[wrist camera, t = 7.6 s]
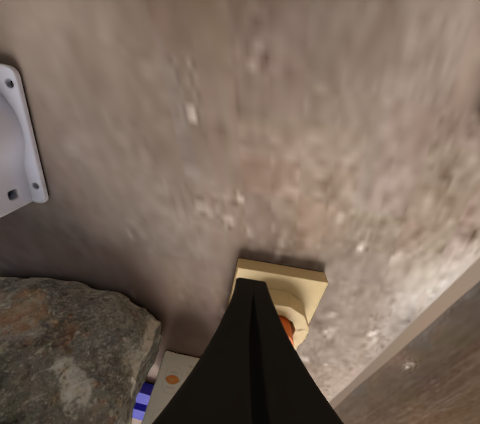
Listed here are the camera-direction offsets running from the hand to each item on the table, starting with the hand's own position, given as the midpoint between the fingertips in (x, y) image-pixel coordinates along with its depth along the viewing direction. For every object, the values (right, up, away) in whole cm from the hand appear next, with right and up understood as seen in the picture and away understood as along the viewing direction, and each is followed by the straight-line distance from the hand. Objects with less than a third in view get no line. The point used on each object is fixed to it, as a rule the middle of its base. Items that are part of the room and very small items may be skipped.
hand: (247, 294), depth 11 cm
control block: (+3, -5, +12) cm, 14 cm away
